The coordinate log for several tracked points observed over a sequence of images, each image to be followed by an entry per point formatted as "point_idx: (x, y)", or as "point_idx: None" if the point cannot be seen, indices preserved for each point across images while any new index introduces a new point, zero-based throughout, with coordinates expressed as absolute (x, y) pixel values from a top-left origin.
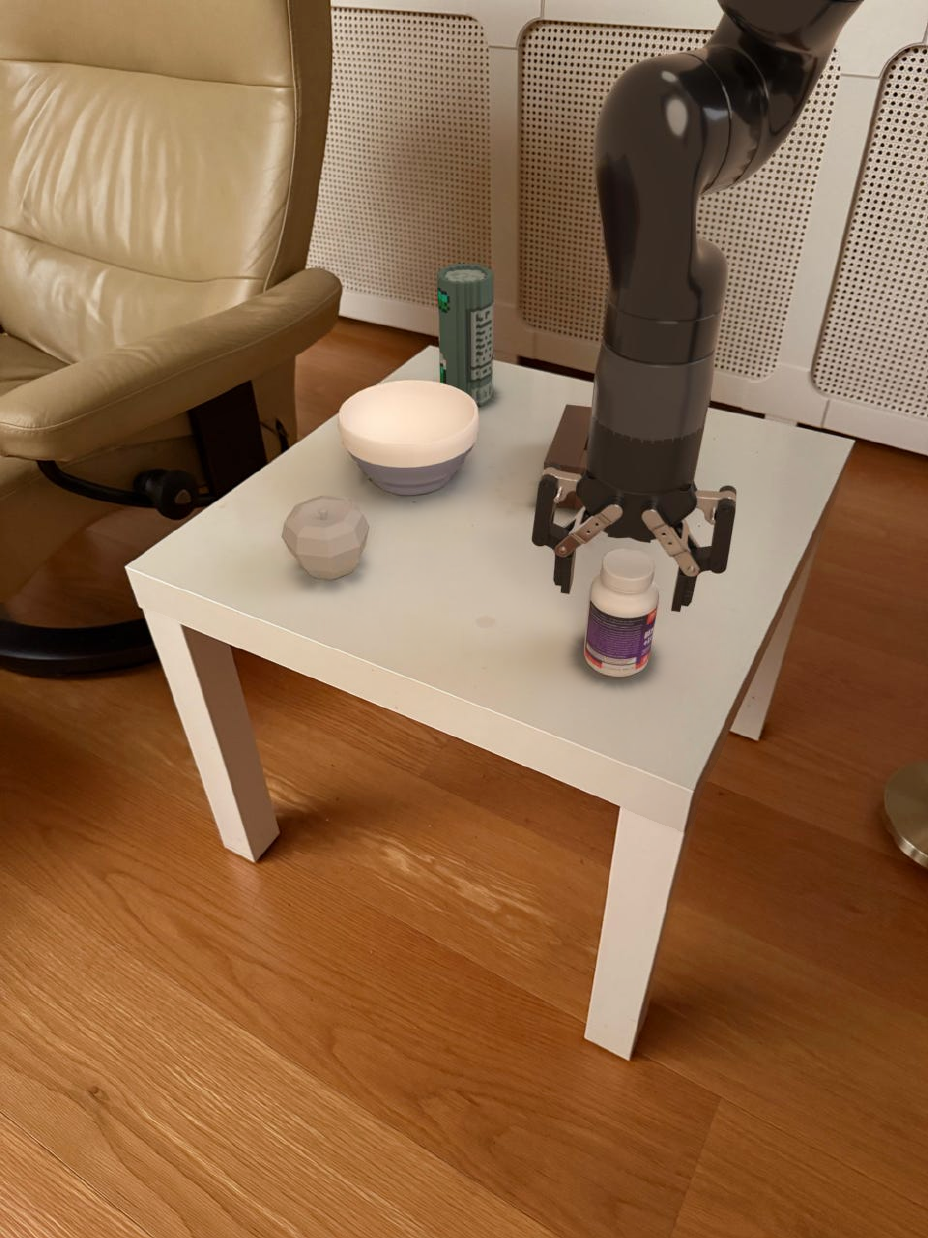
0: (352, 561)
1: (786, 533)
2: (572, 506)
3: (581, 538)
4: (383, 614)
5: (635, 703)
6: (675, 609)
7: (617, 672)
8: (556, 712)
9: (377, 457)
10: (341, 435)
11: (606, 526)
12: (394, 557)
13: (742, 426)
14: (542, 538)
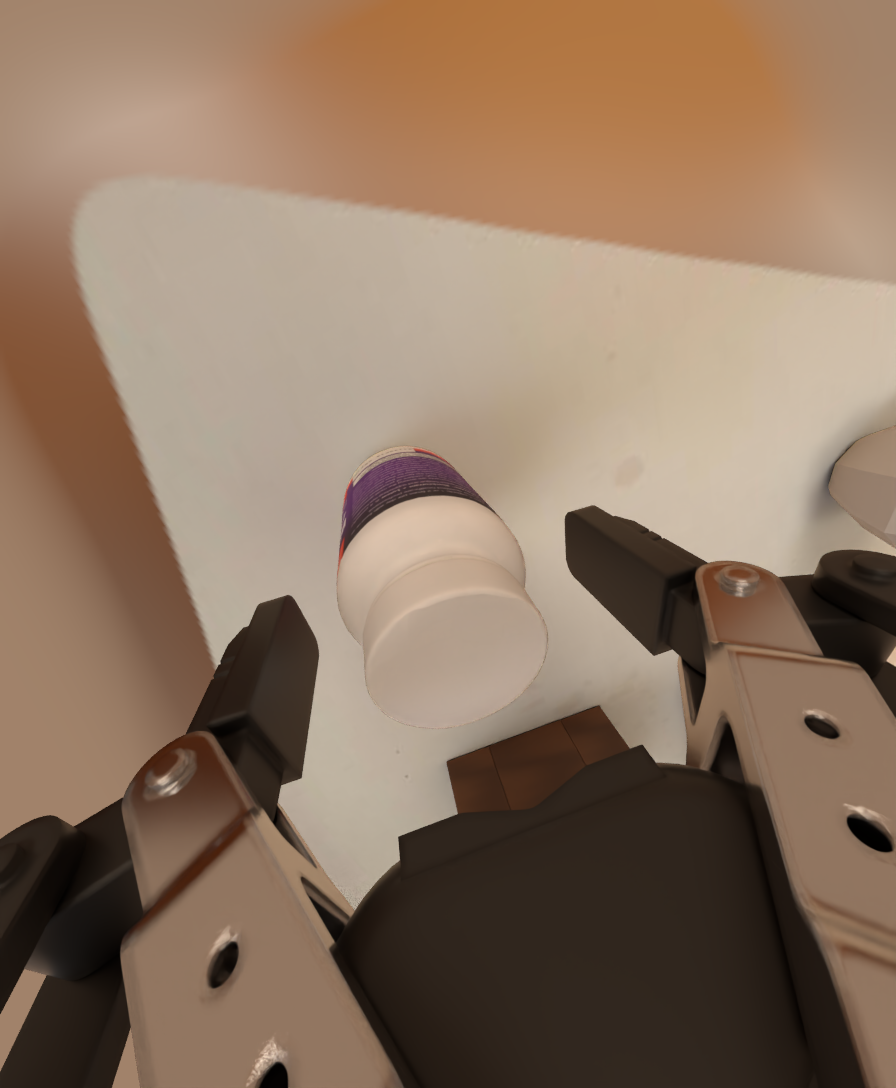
0: (879, 462)
1: (299, 822)
2: (564, 722)
3: (789, 660)
4: (782, 406)
5: (315, 402)
6: (271, 601)
7: (380, 453)
8: (449, 291)
9: (892, 658)
10: None
11: (792, 859)
12: (767, 530)
13: None
14: (880, 579)
